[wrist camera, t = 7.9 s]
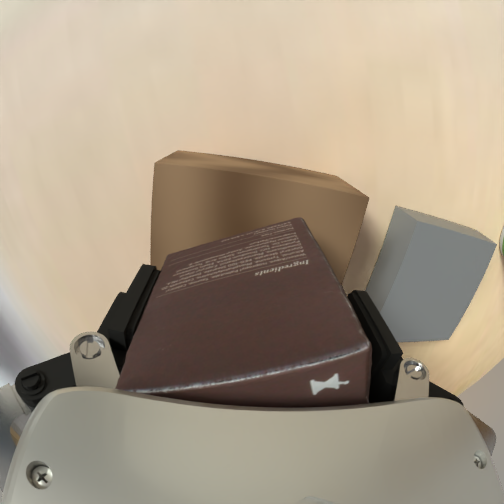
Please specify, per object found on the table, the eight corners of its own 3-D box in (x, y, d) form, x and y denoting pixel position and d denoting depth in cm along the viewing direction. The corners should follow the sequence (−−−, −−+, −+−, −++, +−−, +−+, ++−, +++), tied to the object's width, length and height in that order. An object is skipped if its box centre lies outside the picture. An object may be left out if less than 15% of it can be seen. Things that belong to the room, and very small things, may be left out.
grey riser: (476, 229, 19) (496, 244, 16) (434, 320, 23) (448, 339, 21) (395, 205, 18) (417, 220, 15) (353, 318, 22) (364, 342, 20)
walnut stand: (337, 176, 17) (369, 197, 13) (300, 304, 21) (314, 351, 17) (178, 150, 16) (154, 162, 11) (169, 289, 20) (153, 334, 16)
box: (165, 249, 12) (103, 390, 5) (304, 211, 11) (378, 340, 5) (212, 347, 14) (203, 475, 8) (323, 322, 14) (365, 449, 7)
